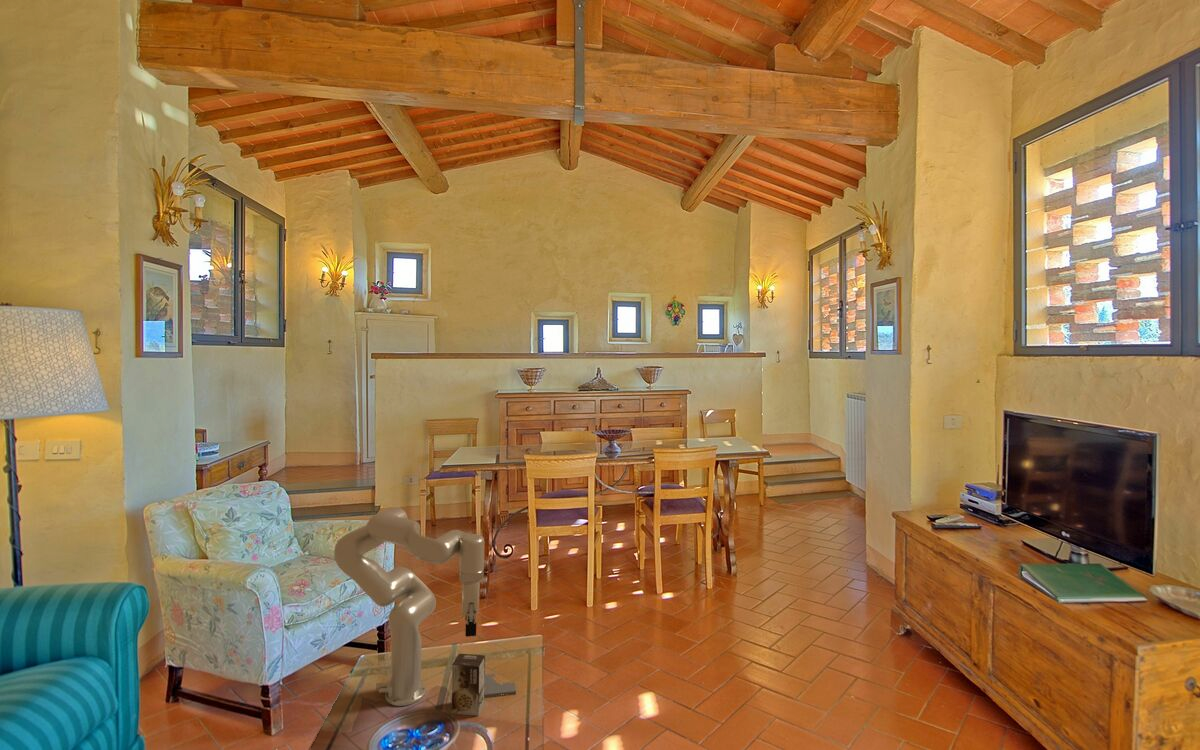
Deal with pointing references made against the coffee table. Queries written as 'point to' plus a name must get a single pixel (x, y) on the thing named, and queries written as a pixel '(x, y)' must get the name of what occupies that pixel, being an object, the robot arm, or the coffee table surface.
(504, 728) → the coffee table surface
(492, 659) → the coffee table surface
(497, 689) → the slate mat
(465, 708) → the coffee box
